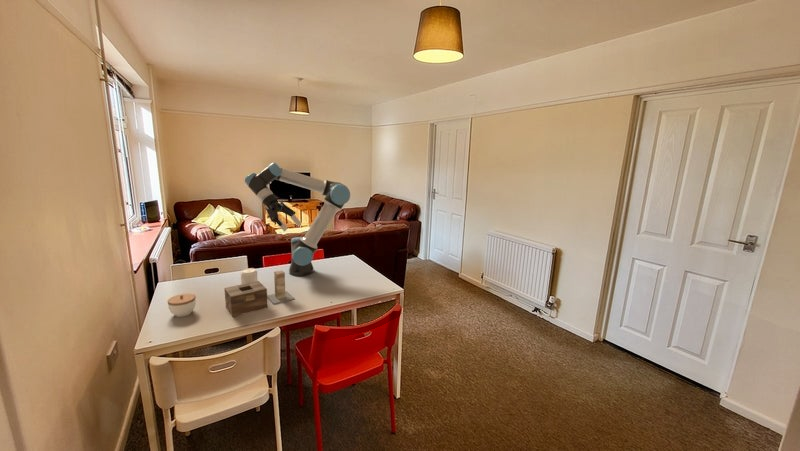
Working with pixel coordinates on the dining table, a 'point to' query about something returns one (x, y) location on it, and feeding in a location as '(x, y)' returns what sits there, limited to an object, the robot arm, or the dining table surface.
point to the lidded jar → (182, 304)
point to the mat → (276, 301)
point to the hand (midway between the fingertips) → (293, 227)
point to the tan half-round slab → (248, 276)
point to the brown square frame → (245, 298)
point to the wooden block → (279, 284)
